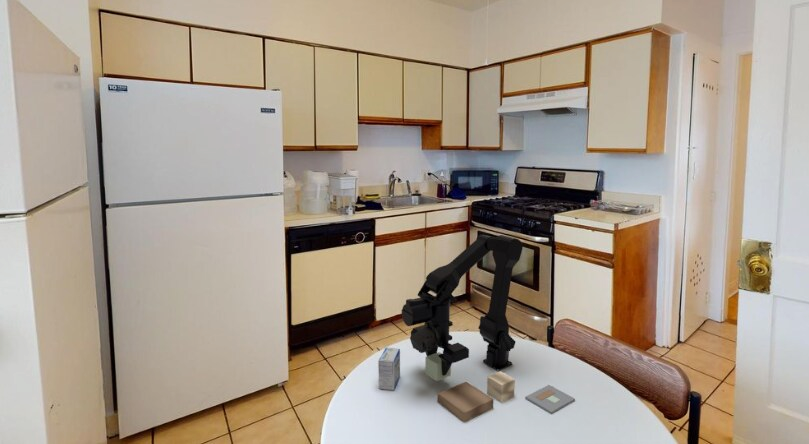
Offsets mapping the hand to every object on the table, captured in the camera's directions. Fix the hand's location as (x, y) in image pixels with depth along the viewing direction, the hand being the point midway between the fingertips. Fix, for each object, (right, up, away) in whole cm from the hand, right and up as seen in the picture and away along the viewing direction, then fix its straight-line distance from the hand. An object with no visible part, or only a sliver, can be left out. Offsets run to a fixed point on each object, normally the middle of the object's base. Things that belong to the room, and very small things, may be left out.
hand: (438, 371), depth 118 cm
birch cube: (+16, -5, -5) cm, 18 cm away
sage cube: (0, -1, 0) cm, 1 cm away
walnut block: (+6, -6, -9) cm, 13 cm away
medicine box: (-14, -4, +1) cm, 14 cm away
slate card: (+29, -5, -7) cm, 30 cm away
